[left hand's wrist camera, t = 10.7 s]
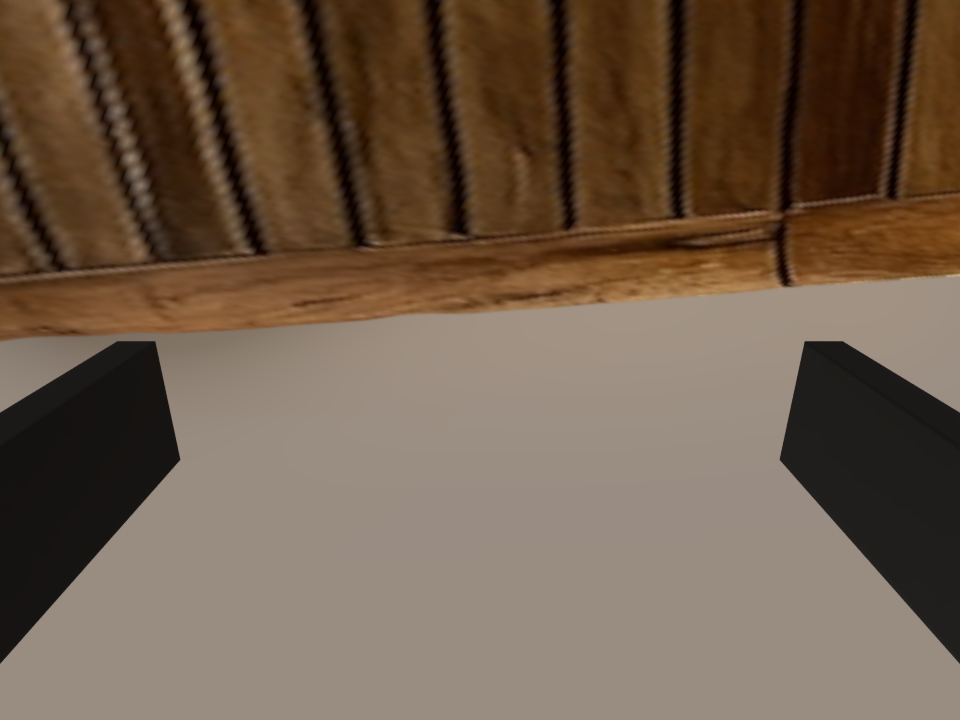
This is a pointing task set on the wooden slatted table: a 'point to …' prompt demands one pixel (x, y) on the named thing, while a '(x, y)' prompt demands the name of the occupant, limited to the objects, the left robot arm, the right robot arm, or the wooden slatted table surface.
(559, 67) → the wooden slatted table surface
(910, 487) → the left robot arm
